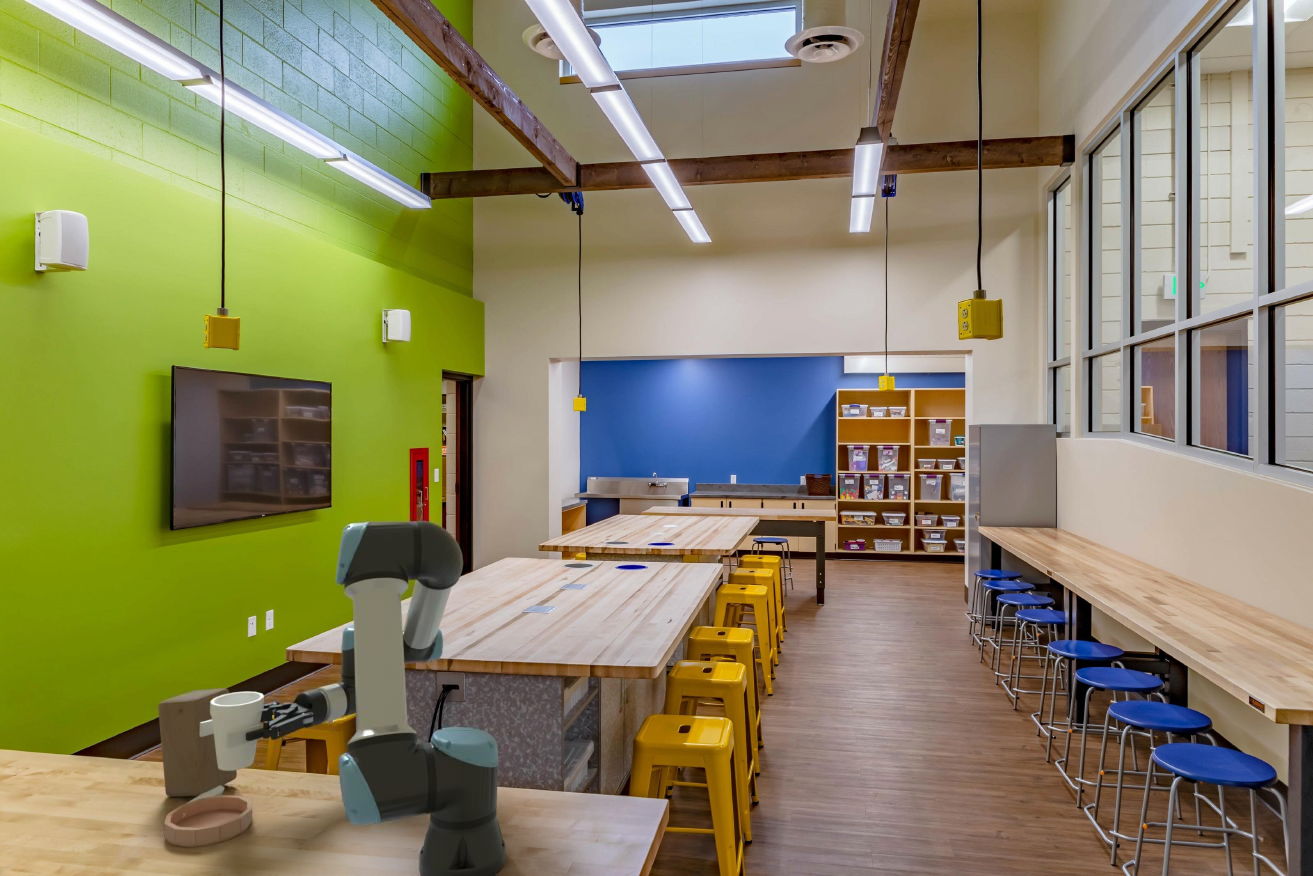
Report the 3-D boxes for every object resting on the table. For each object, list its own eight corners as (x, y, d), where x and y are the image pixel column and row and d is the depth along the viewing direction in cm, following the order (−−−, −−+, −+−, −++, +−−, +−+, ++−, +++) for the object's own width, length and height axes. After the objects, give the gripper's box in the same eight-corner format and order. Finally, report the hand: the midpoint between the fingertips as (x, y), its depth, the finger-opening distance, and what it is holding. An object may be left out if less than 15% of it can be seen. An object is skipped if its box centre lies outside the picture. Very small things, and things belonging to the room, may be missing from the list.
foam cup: (198, 767, 156) (200, 700, 156) (243, 752, 164) (244, 689, 164) (227, 777, 151) (229, 709, 151) (272, 761, 159) (273, 696, 160)
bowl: (267, 824, 156) (267, 807, 156) (189, 855, 144) (190, 837, 144) (226, 805, 164) (226, 789, 164) (149, 833, 152) (150, 816, 152)
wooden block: (202, 797, 164) (193, 699, 165) (163, 798, 167) (155, 702, 168) (239, 778, 174) (230, 686, 175) (202, 780, 176) (194, 689, 178)
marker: (227, 793, 172) (180, 823, 156) (219, 789, 172) (170, 819, 156) (232, 782, 172) (185, 811, 156) (224, 778, 172) (176, 806, 156)
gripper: (349, 734, 166) (243, 768, 148) (290, 713, 179) (185, 742, 160) (350, 698, 166) (244, 727, 148) (291, 679, 179) (186, 704, 160)
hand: (213, 735), depth 154 cm, fingers closed on foam cup, 9 cm apart
